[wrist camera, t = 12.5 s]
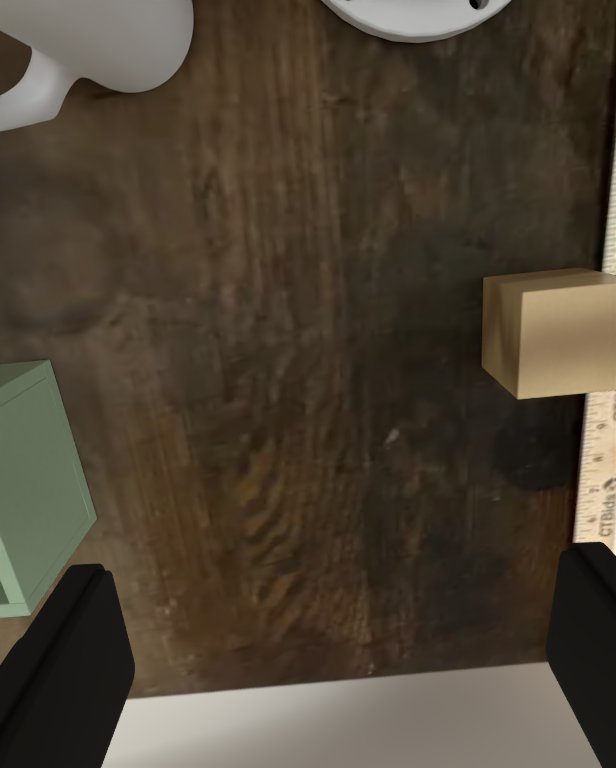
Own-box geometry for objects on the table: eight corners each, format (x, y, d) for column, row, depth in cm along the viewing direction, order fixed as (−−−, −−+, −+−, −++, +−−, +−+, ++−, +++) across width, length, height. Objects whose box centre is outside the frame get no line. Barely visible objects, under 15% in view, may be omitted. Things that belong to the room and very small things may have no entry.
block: (482, 277, 25) (522, 292, 21) (579, 267, 25) (641, 279, 20) (481, 367, 27) (517, 400, 22) (571, 358, 27) (627, 389, 22)
